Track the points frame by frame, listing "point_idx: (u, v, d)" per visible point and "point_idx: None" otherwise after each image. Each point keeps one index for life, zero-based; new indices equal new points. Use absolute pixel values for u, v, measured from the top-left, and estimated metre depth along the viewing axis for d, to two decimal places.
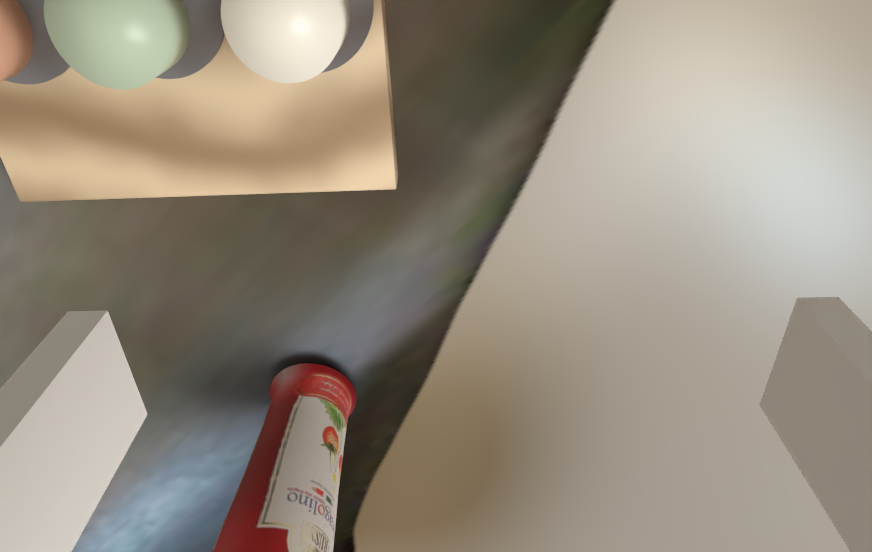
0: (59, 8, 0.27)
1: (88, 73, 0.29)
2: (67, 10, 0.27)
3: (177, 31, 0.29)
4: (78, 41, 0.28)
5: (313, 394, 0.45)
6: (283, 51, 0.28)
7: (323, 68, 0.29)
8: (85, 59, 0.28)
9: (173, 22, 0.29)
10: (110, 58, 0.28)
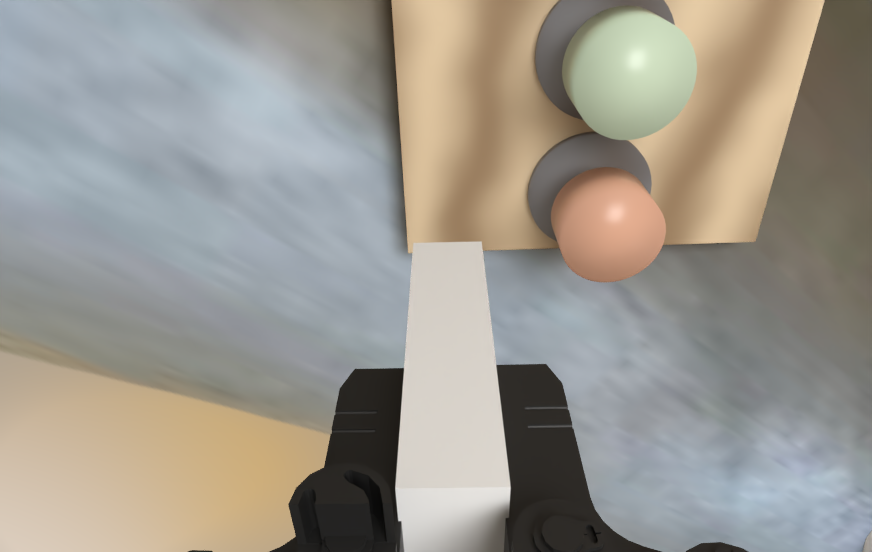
0: (608, 122, 0.28)
1: (671, 113, 0.28)
2: (611, 115, 0.28)
3: (645, 12, 0.27)
4: (640, 113, 0.28)
5: None
6: None
7: None
8: (658, 111, 0.28)
9: (636, 13, 0.27)
10: (662, 86, 0.27)
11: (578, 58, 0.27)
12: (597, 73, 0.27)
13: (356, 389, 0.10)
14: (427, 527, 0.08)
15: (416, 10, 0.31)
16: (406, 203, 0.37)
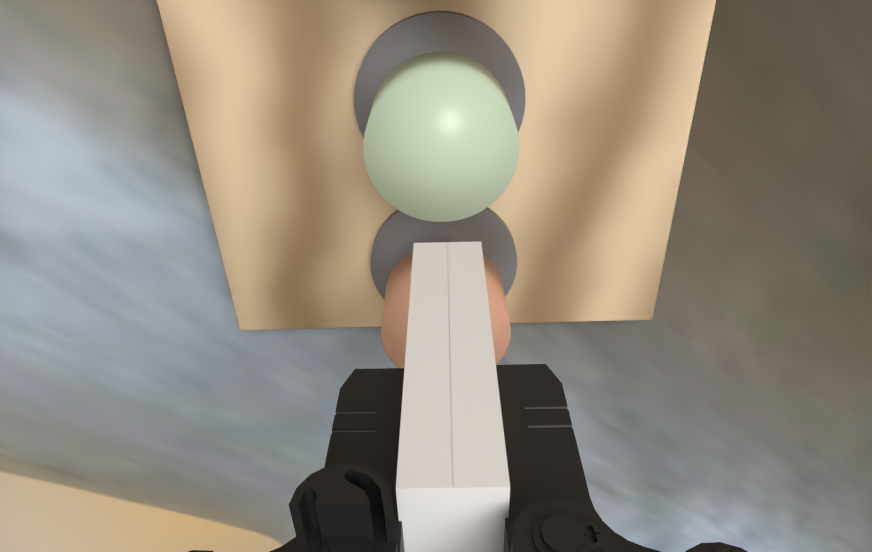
0: (415, 200, 0.22)
1: (494, 190, 0.22)
2: (417, 192, 0.22)
3: (450, 63, 0.21)
4: (455, 190, 0.22)
5: None
6: None
7: None
8: (477, 188, 0.22)
9: (438, 65, 0.21)
10: (477, 157, 0.21)
11: (367, 122, 0.21)
12: (390, 142, 0.21)
13: (357, 390, 0.10)
14: (427, 527, 0.08)
15: (200, 51, 0.25)
16: (228, 275, 0.31)
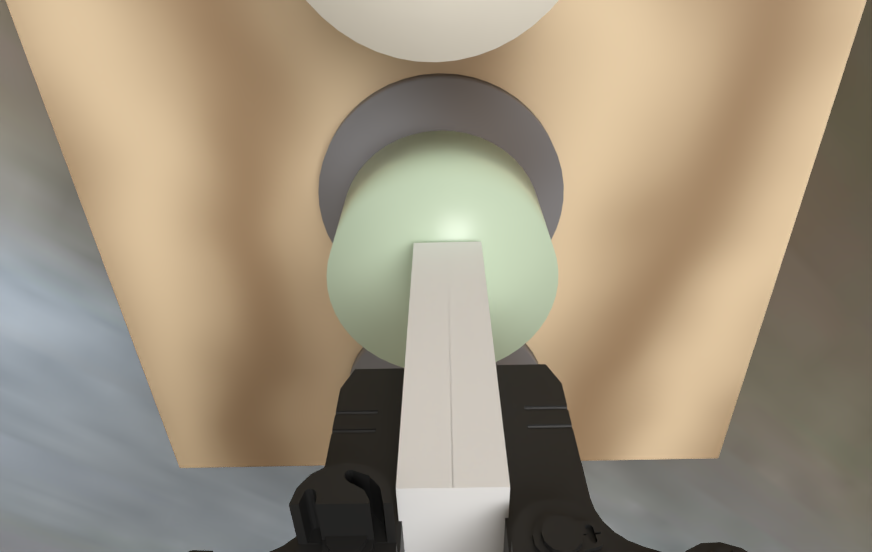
0: (405, 346, 0.15)
1: (520, 334, 0.15)
2: None
3: (457, 156, 0.14)
4: None
5: None
6: None
7: None
8: (494, 331, 0.15)
9: (438, 160, 0.14)
10: (496, 292, 0.14)
11: (333, 241, 0.14)
12: (367, 271, 0.14)
13: (357, 389, 0.10)
14: (427, 527, 0.08)
15: (96, 128, 0.17)
16: (159, 406, 0.23)
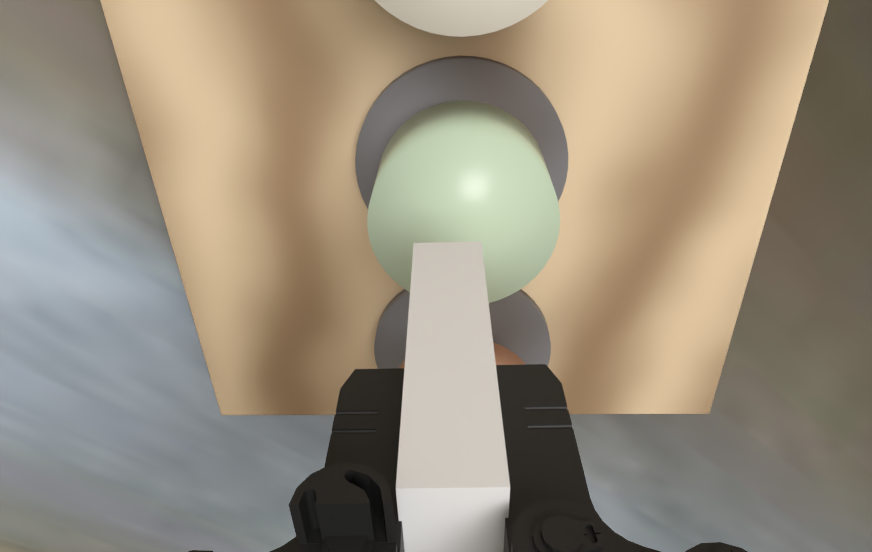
0: None
1: (527, 271, 0.18)
2: None
3: (477, 119, 0.17)
4: None
5: None
6: None
7: None
8: (505, 269, 0.18)
9: (461, 121, 0.17)
10: (508, 233, 0.17)
11: (373, 189, 0.17)
12: (400, 214, 0.17)
13: (357, 389, 0.10)
14: (427, 527, 0.08)
15: (166, 101, 0.20)
16: (206, 355, 0.26)
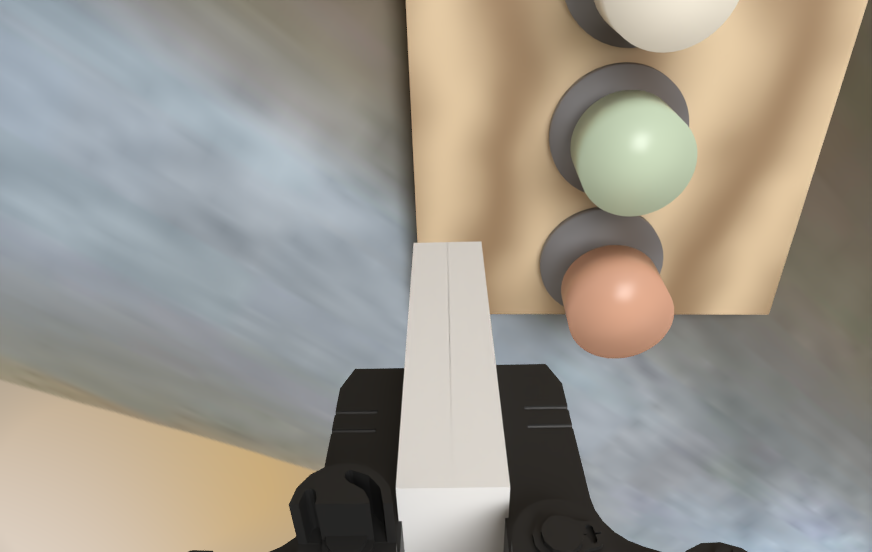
0: (612, 200, 0.30)
1: (673, 193, 0.29)
2: (615, 193, 0.30)
3: (648, 100, 0.28)
4: (643, 193, 0.30)
5: None
6: None
7: None
8: (659, 191, 0.29)
9: (640, 101, 0.28)
10: (664, 168, 0.29)
11: (584, 141, 0.29)
12: (601, 156, 0.29)
13: (357, 389, 0.10)
14: (427, 527, 0.08)
15: (433, 90, 0.32)
16: None
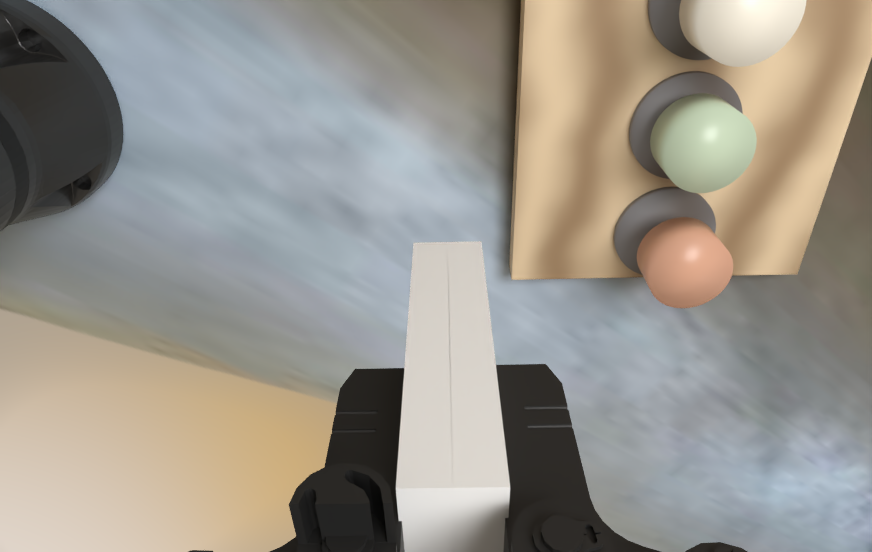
0: (688, 180, 0.38)
1: (735, 174, 0.38)
2: (690, 175, 0.38)
3: (718, 101, 0.37)
4: (712, 174, 0.38)
5: None
6: (775, 14, 0.32)
7: None
8: (725, 173, 0.38)
9: (712, 102, 0.36)
10: (730, 155, 0.37)
11: (668, 134, 0.37)
12: (682, 145, 0.37)
13: (357, 389, 0.10)
14: (427, 527, 0.08)
15: (539, 94, 0.40)
16: (514, 240, 0.46)
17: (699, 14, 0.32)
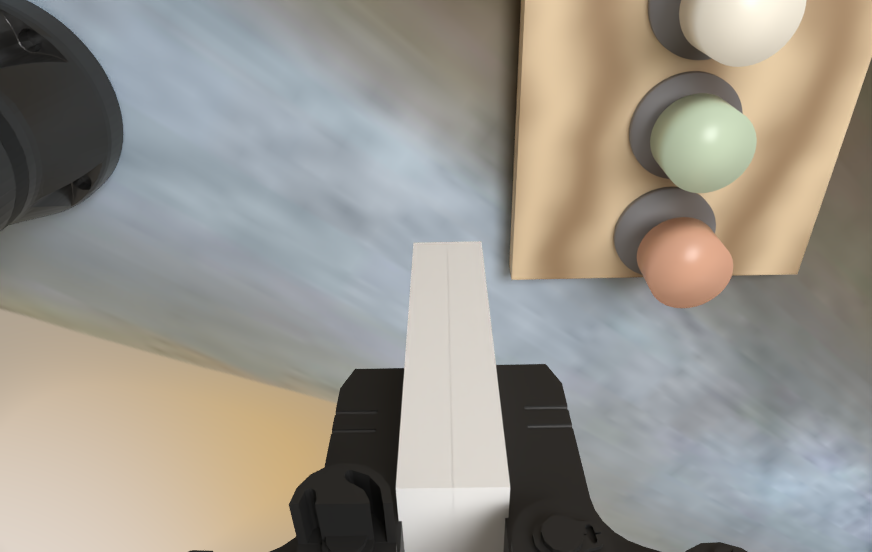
0: (688, 180, 0.38)
1: (735, 174, 0.38)
2: (690, 175, 0.38)
3: (718, 101, 0.37)
4: (712, 174, 0.38)
5: None
6: (775, 14, 0.32)
7: None
8: (725, 173, 0.38)
9: (712, 102, 0.36)
10: (730, 155, 0.37)
11: (668, 134, 0.37)
12: (682, 145, 0.37)
13: (357, 389, 0.10)
14: (427, 527, 0.08)
15: (539, 94, 0.40)
16: (514, 240, 0.46)
17: (699, 14, 0.32)
